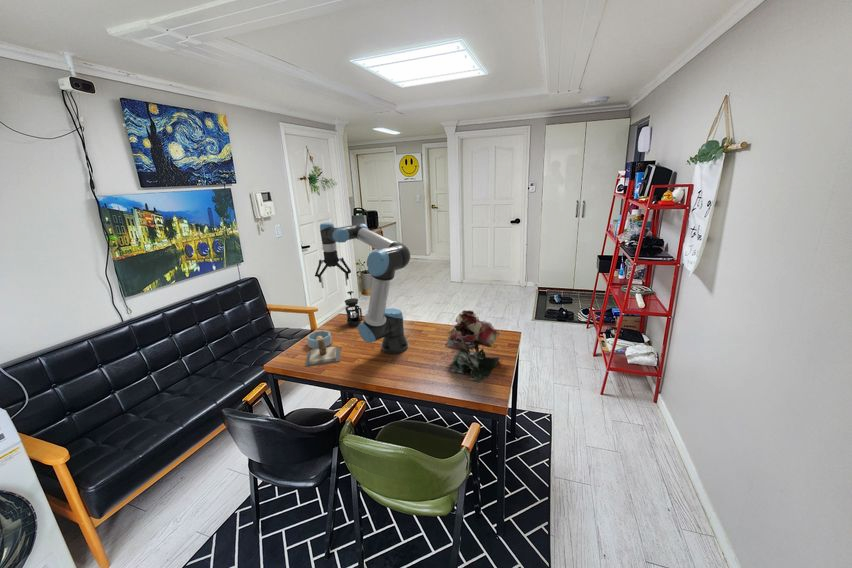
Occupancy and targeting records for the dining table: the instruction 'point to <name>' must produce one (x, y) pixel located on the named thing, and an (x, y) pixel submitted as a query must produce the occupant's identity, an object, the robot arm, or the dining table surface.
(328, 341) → the bowl
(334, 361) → the mat
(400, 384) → the dining table surface
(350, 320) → the french press
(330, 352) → the lid
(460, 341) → the rose bouquet
